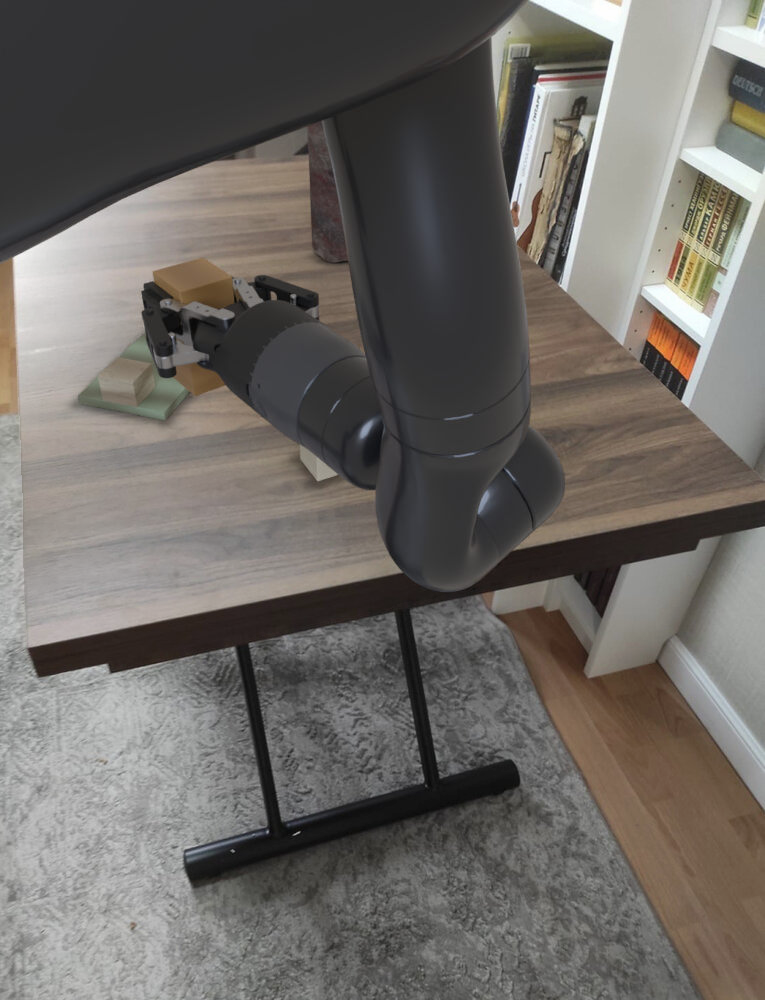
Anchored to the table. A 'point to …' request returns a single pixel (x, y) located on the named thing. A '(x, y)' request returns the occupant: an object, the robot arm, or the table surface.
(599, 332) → the table surface
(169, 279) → the brown wooden tall block
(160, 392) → the green block tray
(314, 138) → the dark stone core sample
